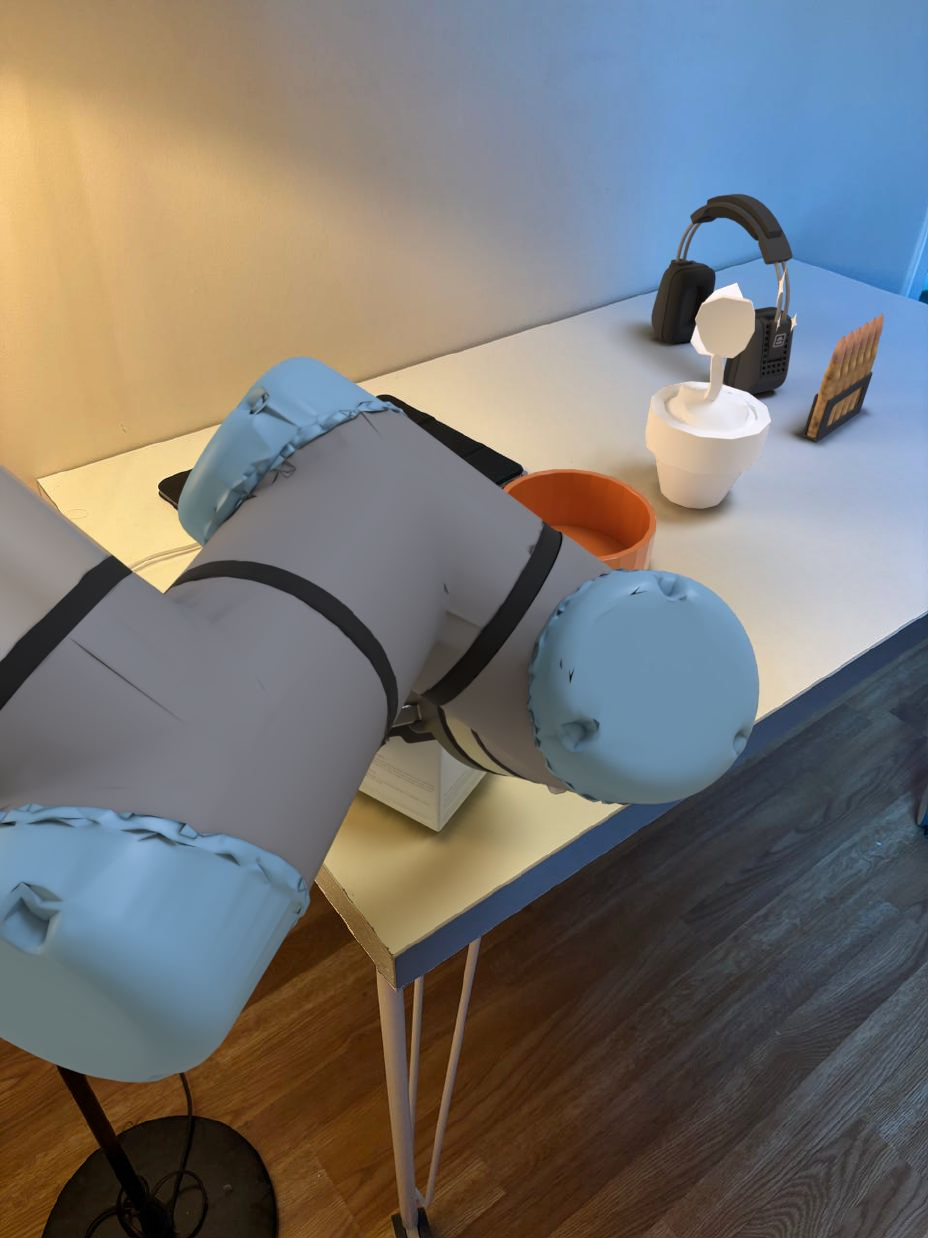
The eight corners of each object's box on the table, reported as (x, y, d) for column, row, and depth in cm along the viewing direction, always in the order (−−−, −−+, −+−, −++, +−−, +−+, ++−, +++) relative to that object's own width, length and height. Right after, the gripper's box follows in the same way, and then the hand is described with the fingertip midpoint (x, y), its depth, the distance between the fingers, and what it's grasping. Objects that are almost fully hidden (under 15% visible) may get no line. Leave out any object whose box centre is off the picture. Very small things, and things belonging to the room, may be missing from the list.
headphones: (787, 395, 116) (834, 226, 102) (745, 404, 113) (788, 233, 100) (682, 323, 131) (712, 168, 118) (643, 330, 128) (669, 173, 115)
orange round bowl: (498, 622, 82) (502, 562, 78) (484, 526, 93) (488, 469, 88) (660, 619, 83) (673, 560, 79) (628, 525, 94) (638, 468, 89)
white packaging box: (494, 767, 70) (504, 638, 61) (438, 836, 65) (441, 707, 57) (411, 725, 73) (411, 597, 64) (351, 788, 68) (342, 659, 60)
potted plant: (740, 537, 93) (809, 283, 76) (623, 510, 96) (666, 260, 79) (757, 473, 102) (823, 234, 85) (650, 450, 105) (694, 215, 88)
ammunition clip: (846, 405, 114) (878, 308, 106) (860, 411, 113) (893, 313, 105) (801, 436, 108) (831, 335, 100) (816, 442, 107) (847, 341, 99)
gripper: (262, 842, 40) (248, 798, 61) (771, 717, 47) (604, 715, 67) (228, 668, 41) (226, 682, 61) (738, 568, 47) (582, 611, 68)
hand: (424, 700), depth 64 cm, fingers open, 13 cm apart
